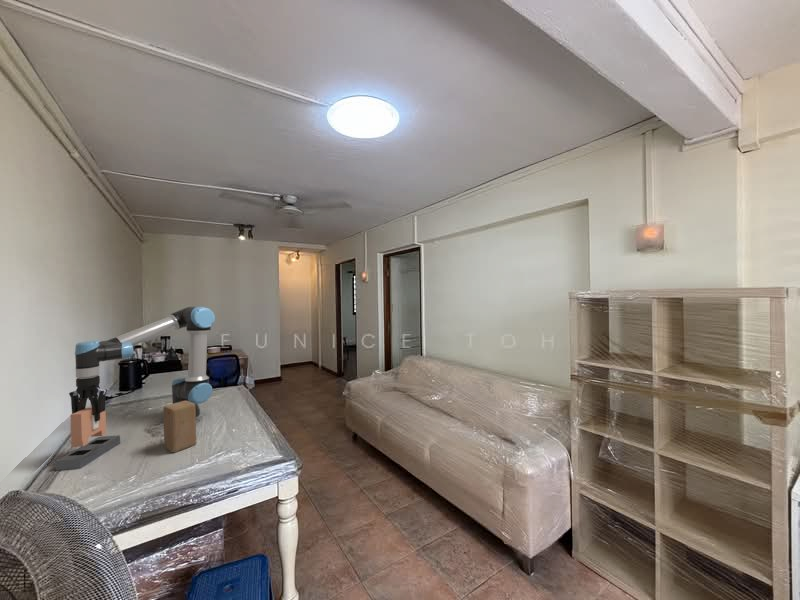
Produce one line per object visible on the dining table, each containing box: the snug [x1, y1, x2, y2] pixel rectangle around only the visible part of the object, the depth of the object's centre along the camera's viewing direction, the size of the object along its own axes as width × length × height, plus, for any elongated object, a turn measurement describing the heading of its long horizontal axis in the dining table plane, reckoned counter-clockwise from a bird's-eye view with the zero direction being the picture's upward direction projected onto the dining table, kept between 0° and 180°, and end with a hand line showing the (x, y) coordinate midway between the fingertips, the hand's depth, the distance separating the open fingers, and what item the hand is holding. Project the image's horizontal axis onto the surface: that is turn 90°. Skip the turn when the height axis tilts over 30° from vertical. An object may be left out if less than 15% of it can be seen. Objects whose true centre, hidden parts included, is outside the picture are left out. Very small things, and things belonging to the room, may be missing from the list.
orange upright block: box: [70, 405, 107, 448], centre depth 140 cm, size 4×13×14 cm, turn 8°
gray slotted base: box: [54, 435, 121, 472], centre depth 140 cm, size 9×22×4 cm, turn 8°
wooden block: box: [162, 401, 197, 453], centre depth 148 cm, size 10×10×20 cm
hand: (89, 428), depth 140 cm, fingers closed on orange upright block, 4 cm apart
